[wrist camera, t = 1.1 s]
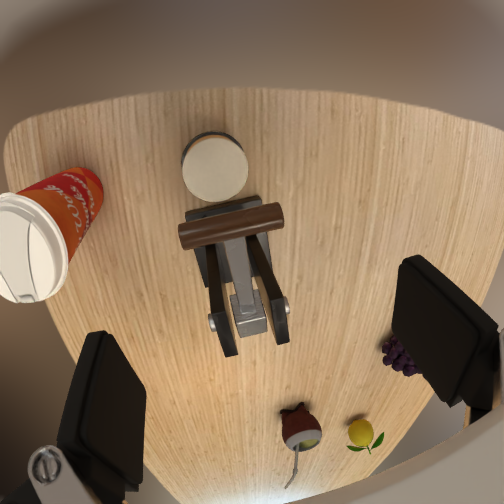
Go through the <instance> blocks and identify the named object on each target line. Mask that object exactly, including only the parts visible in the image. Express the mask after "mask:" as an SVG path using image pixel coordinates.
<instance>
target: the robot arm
mask: <svg viewBox="0 0 504 504" xmlns="http://www.w3.org/2000/svg"><path fill="white" fill-rule="evenodd" d="M391 327H392V331H393V334H394V335H395V337H396V338H397V339H398V341H399V342H400V343H401V345H402V346H403V347H404V349H405V350H406V352H407V353H408V354H409V356H410V357H411V358H412V360H413V361H414V363H415V364H416V365H417V367H418V368H419V370H420V371H421V372H422V374H423V375H424V377H425V378H426V380H427V381H428V382H429V384H430V385H431V387H432V388H433V390H434V391H435V393H436V394H437V395H438V397H439V398H440V400H441V401H443V402H446V403H447V404H448V406H449V407H450V408H451V407H452V406H454V405H456V404H457V403H459V402H461V401H462V400H464V402H465V403H466V411H465V419H464V426H463V430H461V431H460V432H458V433H456V434H455V435H453V436H452V437H450V438H448V439H446V440H445V441H443V442H441V443H439V444H438V445H436V446H434V447H432V448H430V449H429V450H427V451H425V452H423V453H421V454H419V455H417V456H415V457H413V458H411V459H409V460H407V461H405V462H403V463H401V464H398V465H396V466H394V467H392V468H390V469H387V470H385V471H383V472H380V473H378V474H376V475H373V476H371V477H368V478H366V479H363V480H360V481H358V482H355V483H352V484H350V485H347V486H344V487H341V488H338V489H335V490H332V491H329V492H326V493H322V494H319V495H316V496H312V497H309V498H305V499H301V500H297V501H293V502H289V503H285V504H504V328H503V329H502V330H501V332H500V333H498V331H497V328H498V325H497V323H496V322H495V321H494V320H493V319H491V317H490V316H489V315H488V314H486V313H485V312H484V311H483V310H482V309H481V308H480V307H479V306H478V305H477V304H476V303H475V302H474V301H473V300H472V299H471V298H470V297H468V296H467V295H466V294H465V293H464V292H463V291H462V290H461V289H460V288H459V287H457V286H456V285H455V284H454V283H453V282H452V281H451V280H450V279H448V278H447V277H446V276H445V275H444V274H443V273H441V272H440V271H439V270H438V269H437V268H436V267H434V266H433V265H432V264H431V263H430V262H428V261H427V260H426V259H425V258H424V257H422V256H421V255H414V256H411V257H408V258H405V259H403V261H402V264H400V266H399V269H398V279H397V288H396V296H395V304H394V311H393V318H392V325H391ZM145 411H146V390H145V387H144V385H143V384H142V382H141V381H140V379H139V378H138V376H137V375H136V373H135V371H134V370H133V368H132V367H131V365H130V363H129V362H128V360H127V358H126V357H125V355H124V353H123V352H122V350H121V348H120V347H119V345H118V343H117V341H116V340H115V338H114V336H113V335H112V334H108V333H107V332H106V331H104V330H102V331H97V332H91V333H88V334H87V336H86V339H85V342H84V344H83V347H82V350H81V353H80V356H79V359H78V363H77V366H76V369H75V372H74V375H73V379H72V382H71V386H70V389H69V393H68V396H67V400H66V403H65V407H64V411H63V415H62V419H61V423H60V427H59V432H58V436H57V441H58V442H57V447H55V446H51V445H48V446H43V447H41V448H39V449H37V450H36V451H35V452H34V453H33V455H32V456H31V458H30V460H29V464H28V473H29V477H30V478H29V479H28V480H26V481H25V482H24V483H23V484H22V485H21V486H19V487H18V488H17V489H15V490H14V491H13V492H12V493H11V494H9V495H8V496H7V497H6V498H4V499H3V500H2V501H1V502H0V504H128V503H127V502H126V501H125V491H128V492H129V491H130V492H138V490H139V488H138V487H139V484H141V483H142V481H143V450H144V427H145Z"/></svg>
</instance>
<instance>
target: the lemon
mask: <svg viewBox="0 0 504 504" xmlns="http://www.w3.org/2000/svg"><path fill="white" fill-rule="evenodd" d="M348 435H349V438H350V440H351V441H352V442H353V443H354V444H355V445H357V446H359V447H355V446H347V447H348V448H349V449H350V450H352V451H361V450H363V449H367V448H368V450H369V447H368V445H369V444H370V443H371V441H372V439H373V436H374V433H373V428H372V425H371V424H370V423H369V422H368V421H367V420H365V419H360V420H356V419H355V420H354V421H353V423H352V424H351V425H350V426H349V429H348ZM383 438H384V432H383V433H382V434H381V435H380V436H379V437H378V438H377V440H376V441H375V443H374V444H373V446H372V448H376V447H378V446H379V445H380V444H381V443H382V441H383ZM364 446H365V447H367V448H360V447H364ZM372 448H371V449H372ZM370 451H371V450H369V453H370V454H371V452H370Z"/></svg>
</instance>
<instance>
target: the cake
mask: <svg viewBox="0 0 504 504" xmlns="http://www.w3.org/2000/svg"><path fill="white" fill-rule="evenodd" d="M181 164H182V175H183V180H184V183H185V185H186V187H187V188H188V190H189V191H190V192H191V193H192V194H193V195H194V196H196V197H197V198H199V199H201V200H204V201H208V202H221V201H225V200H228V199H230V198H232V197H233V196H235V195H236V194H237V193H238V192H239V191H240V190H241V189H242V188H243V186H244V185H245V183H246V181H247V177H248V172H249V167H248V161H247V158H246V156H245V154H244V152H243V149H242V147H241V146H240V144H239V143H238V142H237V141H236V140H235V139H234V138H233V137H231V136H230V135H228V134H225V133H222V132H206V133H203V134H201V135H198V136H197V137H195V138H194V139H193V140H192V141H191V142H190V143H189V144H188V145H187V146H186V148H185V150H184V153H183V156H182V162H181Z"/></svg>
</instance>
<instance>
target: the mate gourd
mask: <svg viewBox="0 0 504 504" xmlns="http://www.w3.org/2000/svg"><path fill="white" fill-rule="evenodd" d="M280 414H282V425H283V426H282V437H283V440H284V442H285V444H286V446H287V447H288V448H289V449H291V450H292V451H295V464H294V469H293V476H292V477H291V479H290V481H289V482H288V483H287V485H286V486H285V489H286V488H287V487H288V486H289V485H290V484H291V482H292V481H293V480H294V478H295V476H296V474H297V471H298V469H297V464H298V452H302V451H307V450H309V449H312V448H314V447H315V446H317V445H318V444H319V442H320V440H321V437H322V430H321V426H320V424H319V423H318V421H317V420H316V418H315V417H314V416H313V415H311V414H310V412H309V411H307V410H306V409H305V408H304V402H300V403H299V405H298V406H297V407H296V408H295V409H294V410H281V411H280Z"/></svg>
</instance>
